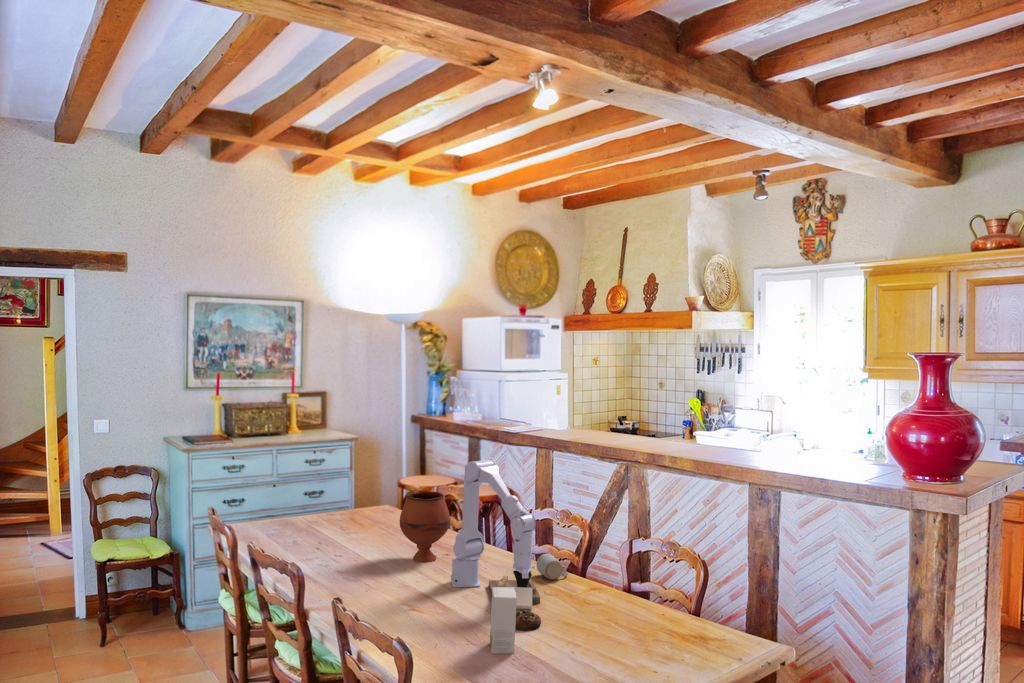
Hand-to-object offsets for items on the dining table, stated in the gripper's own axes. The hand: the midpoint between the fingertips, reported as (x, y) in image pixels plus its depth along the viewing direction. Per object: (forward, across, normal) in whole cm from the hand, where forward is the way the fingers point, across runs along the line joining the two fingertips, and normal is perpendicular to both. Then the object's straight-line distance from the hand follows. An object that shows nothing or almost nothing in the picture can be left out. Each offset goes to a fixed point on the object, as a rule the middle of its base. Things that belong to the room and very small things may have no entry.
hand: (521, 594), depth 245 cm
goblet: (+3, +51, +31) cm, 59 cm away
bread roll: (+3, -18, +2) cm, 18 cm away
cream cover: (+1, -3, +1) cm, 3 cm away
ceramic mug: (+3, +27, -15) cm, 31 cm away
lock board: (+3, +9, +2) cm, 9 cm away
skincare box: (+3, -35, +10) cm, 37 cm away
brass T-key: (+1, +1, +6) cm, 6 cm away
